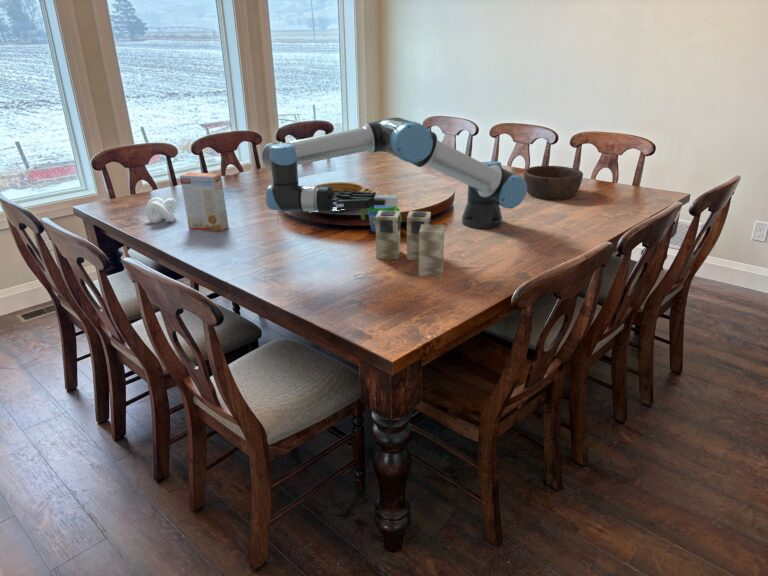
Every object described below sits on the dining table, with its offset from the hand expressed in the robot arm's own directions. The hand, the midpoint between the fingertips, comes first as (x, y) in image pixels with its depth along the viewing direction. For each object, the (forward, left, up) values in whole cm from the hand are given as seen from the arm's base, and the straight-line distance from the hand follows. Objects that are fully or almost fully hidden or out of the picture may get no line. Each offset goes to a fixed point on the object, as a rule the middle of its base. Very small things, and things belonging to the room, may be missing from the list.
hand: (396, 201), depth 161 cm
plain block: (-10, 0, -22) cm, 24 cm away
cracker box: (+77, -33, -22) cm, 86 cm away
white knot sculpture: (+99, -41, -22) cm, 109 cm away
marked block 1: (-5, -13, -22) cm, 26 cm away
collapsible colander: (+34, -65, -22) cm, 76 cm away
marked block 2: (+5, -13, -22) cm, 26 cm away
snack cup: (+11, -37, -22) cm, 44 cm away
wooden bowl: (-57, -94, -22) cm, 112 cm away
